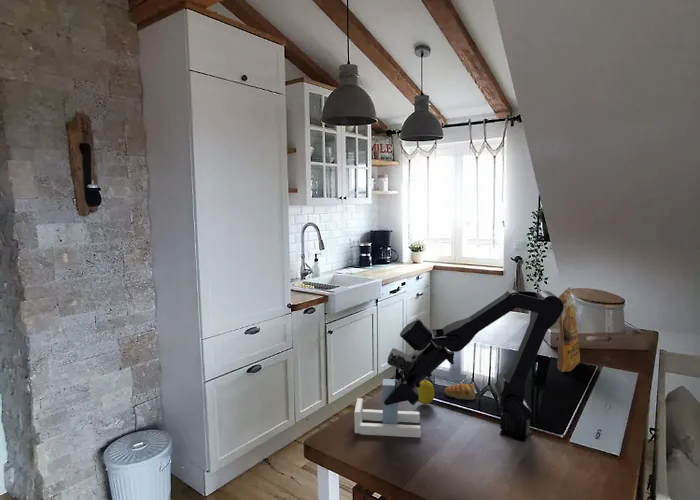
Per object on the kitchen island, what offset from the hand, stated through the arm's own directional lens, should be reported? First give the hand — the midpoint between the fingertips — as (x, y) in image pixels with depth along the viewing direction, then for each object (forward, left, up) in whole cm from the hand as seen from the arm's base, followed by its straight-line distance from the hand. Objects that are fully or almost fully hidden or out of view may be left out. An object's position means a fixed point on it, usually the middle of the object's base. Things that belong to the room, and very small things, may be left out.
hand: (385, 399), depth 122 cm
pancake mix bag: (-30, -76, -8) cm, 82 cm away
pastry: (-9, -30, -8) cm, 33 cm away
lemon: (-3, -18, -8) cm, 20 cm away
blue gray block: (-1, -1, -8) cm, 8 cm away
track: (-1, -1, -8) cm, 8 cm away
